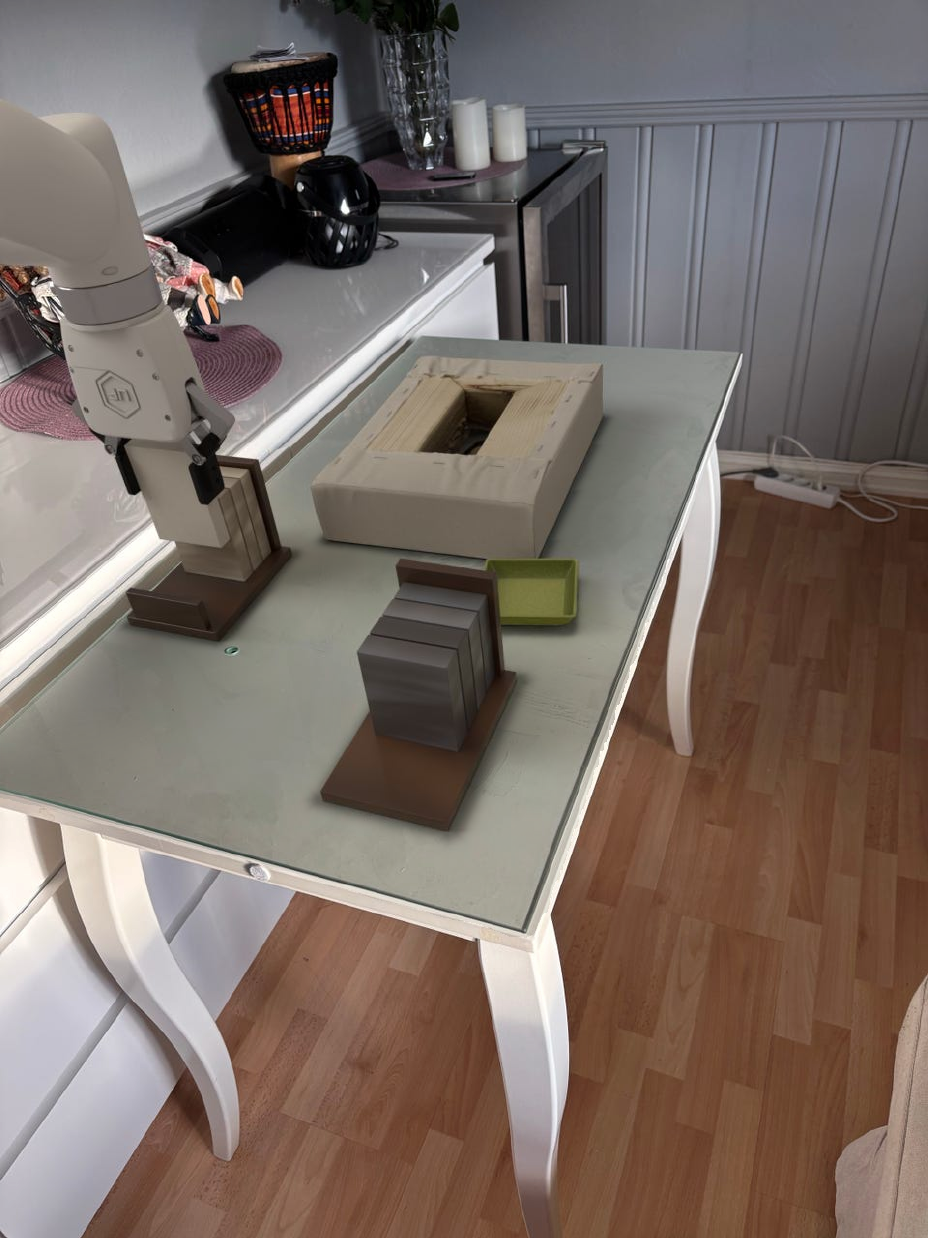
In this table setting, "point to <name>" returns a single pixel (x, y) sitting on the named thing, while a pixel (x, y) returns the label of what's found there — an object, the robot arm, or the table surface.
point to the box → (465, 458)
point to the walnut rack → (426, 696)
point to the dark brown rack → (218, 563)
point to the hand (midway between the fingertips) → (176, 490)
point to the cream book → (175, 495)
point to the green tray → (536, 590)
